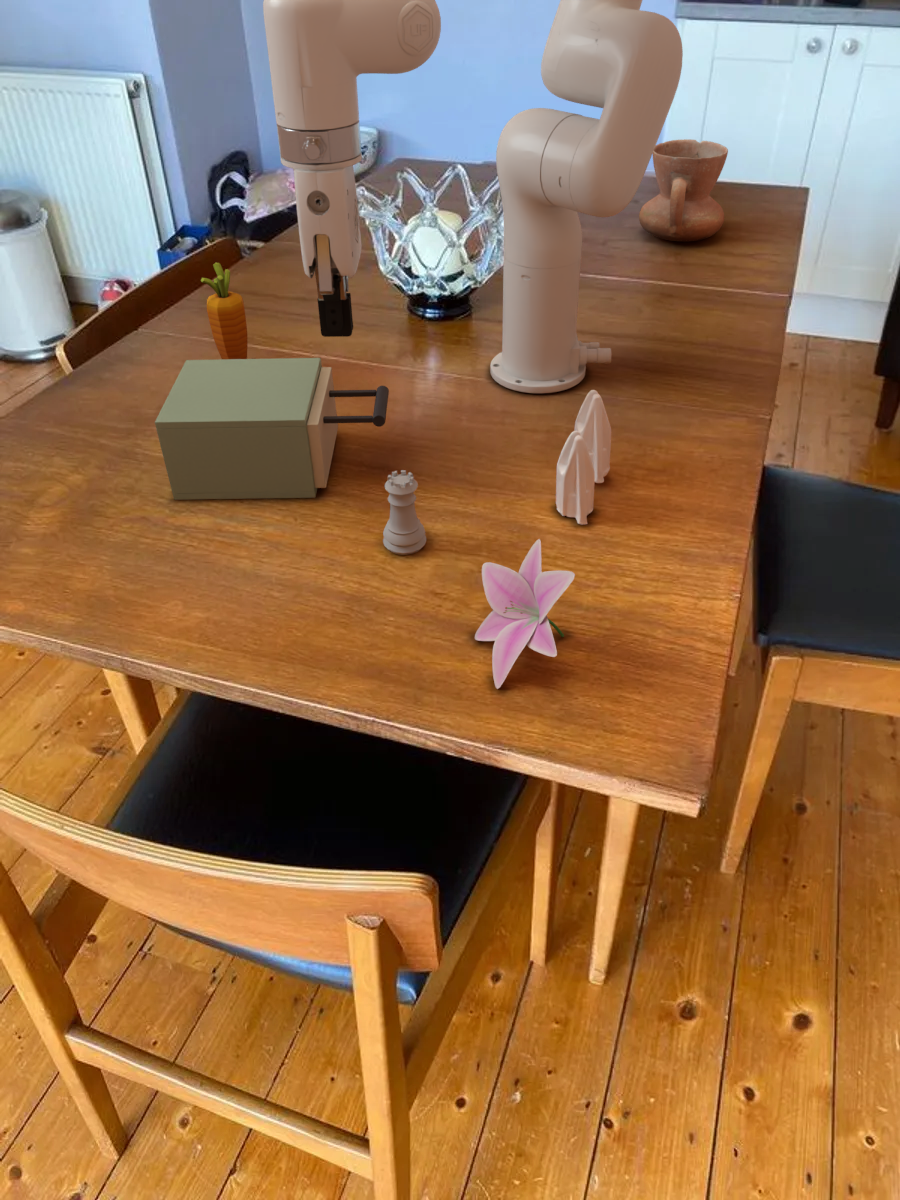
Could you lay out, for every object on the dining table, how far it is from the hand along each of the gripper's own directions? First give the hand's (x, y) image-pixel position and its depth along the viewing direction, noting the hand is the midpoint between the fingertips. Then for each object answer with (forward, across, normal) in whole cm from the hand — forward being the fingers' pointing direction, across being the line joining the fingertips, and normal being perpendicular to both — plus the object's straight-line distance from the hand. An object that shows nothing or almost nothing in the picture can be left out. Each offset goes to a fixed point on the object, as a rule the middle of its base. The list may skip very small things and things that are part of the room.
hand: (337, 333), depth 98 cm
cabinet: (+16, 0, +11) cm, 19 cm away
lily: (+16, -32, -18) cm, 40 cm away
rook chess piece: (+16, -16, -7) cm, 24 cm away
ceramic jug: (+15, +74, -51) cm, 91 cm away
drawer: (+15, 0, +6) cm, 16 cm away
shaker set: (+16, -7, -26) cm, 31 cm away
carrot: (+16, +22, +17) cm, 32 cm away
